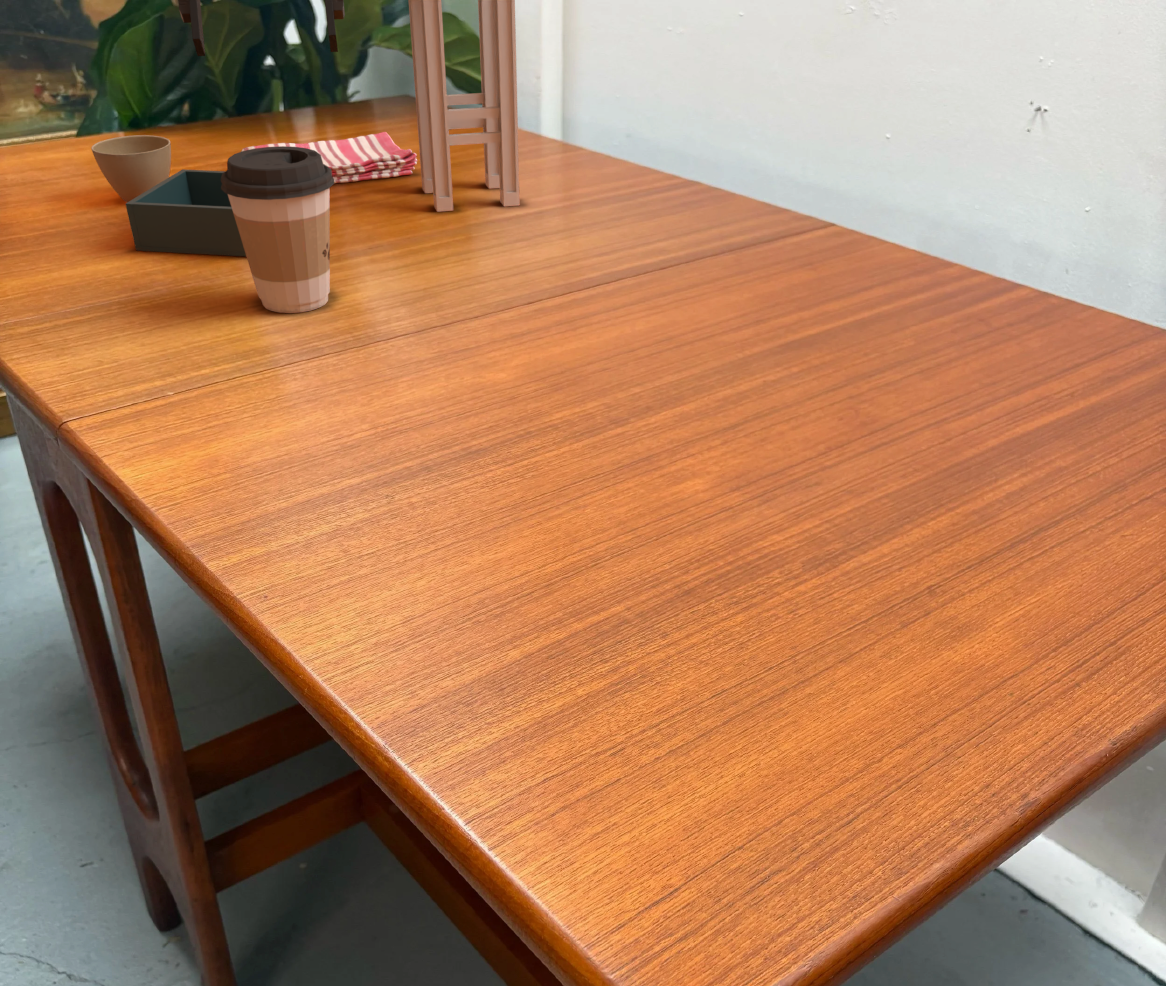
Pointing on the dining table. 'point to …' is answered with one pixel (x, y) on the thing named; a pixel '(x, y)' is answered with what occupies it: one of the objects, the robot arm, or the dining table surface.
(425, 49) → the stool
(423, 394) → the dining table surface
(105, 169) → the beige bowl
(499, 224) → the dining table surface
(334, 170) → the dish towel
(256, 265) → the coffee cup
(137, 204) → the bin
